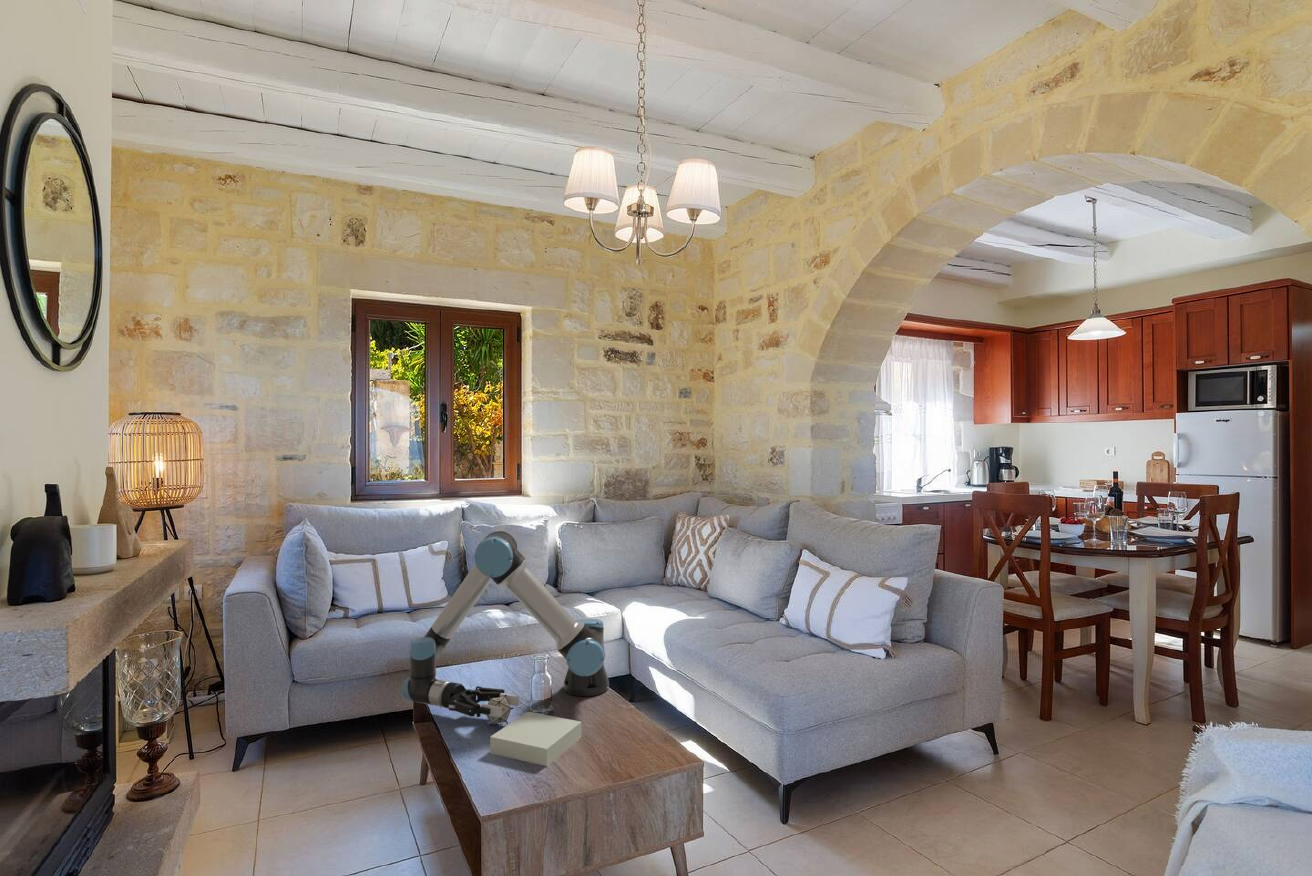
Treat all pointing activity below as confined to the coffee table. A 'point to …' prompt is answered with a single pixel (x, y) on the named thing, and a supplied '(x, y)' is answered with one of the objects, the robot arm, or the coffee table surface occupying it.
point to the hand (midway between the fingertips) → (509, 706)
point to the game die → (505, 709)
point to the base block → (536, 738)
